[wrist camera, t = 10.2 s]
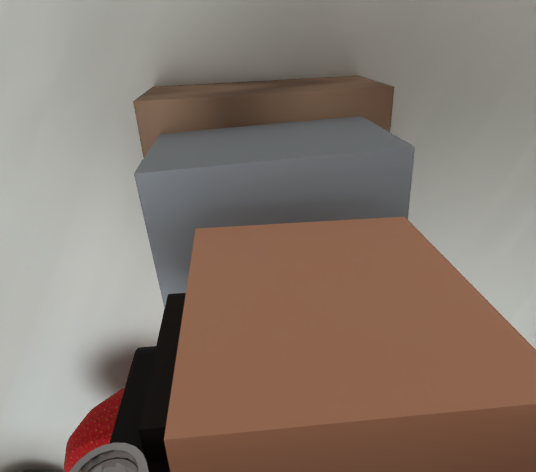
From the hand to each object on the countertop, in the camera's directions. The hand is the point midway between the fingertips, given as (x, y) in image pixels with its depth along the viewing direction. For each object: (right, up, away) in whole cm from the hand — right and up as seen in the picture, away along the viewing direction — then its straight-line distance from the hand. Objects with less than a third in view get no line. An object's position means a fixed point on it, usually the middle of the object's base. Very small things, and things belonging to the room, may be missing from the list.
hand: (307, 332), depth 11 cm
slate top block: (-1, +3, +7) cm, 8 cm away
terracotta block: (0, 0, +1) cm, 1 cm away
